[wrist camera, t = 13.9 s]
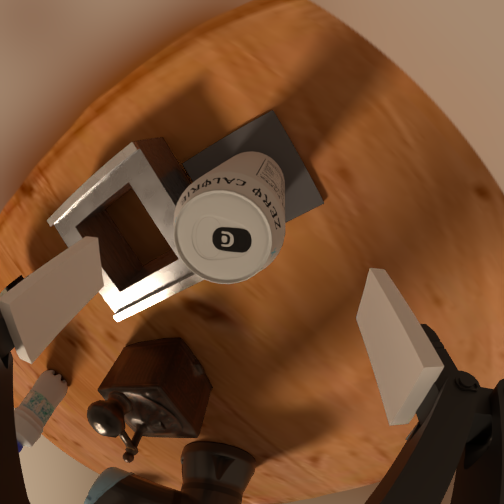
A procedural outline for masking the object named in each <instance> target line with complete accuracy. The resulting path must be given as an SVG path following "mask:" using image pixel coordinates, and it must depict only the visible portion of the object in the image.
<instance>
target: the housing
mask: <svg viewBox="0 0 504 504" xmlns="http://www.w3.org/2000/svg"><path fill="white" fill-rule="evenodd" d="M190 184H191V182H190V181H189V179H188V178H187V176H186V174H185V173H184V171H183V170H182V168H181V166H180V165H179V163H178V162H177V160H176V158H175V157H174V155H173V153H172V152H171V150H170V149H169V147H168V145H167V144H166V142H165V140H164V139H163V137H160V138H153V139H146V140H140V141H134V142H131V143H130V144H129V145H127V146H126V147H125V148H124V149H123V150H121V151H120V152H119V153H118V154H117V155H115V156H114V157H113V158H112V159H111V160H109V161H108V162H107V163H106V164H105V165H104V166H102V167H101V168H100V169H99V170H98V171H97V172H96V173H95V174H93V175H92V176H91V177H90V178H89V179H88V180H87V181H86V182H85V183H84V184H83V185H82V186H81V187H79V188H78V189H77V190H76V191H75V192H74V193H73V194H72V195H71V196H70V197H69V198H68V199H67V200H66V201H65V202H64V203H63V204H62V205H61V206H60V207H59V208H58V209H57V210H56V211H55V212H54V213H53V214H52V215H51V216H50V218H49V219H48V220H47V222H48V223H49V225H50V227H51V226H53V225H54V226H55V227H56V229H57V231H58V232H59V234H60V235H61V237H62V239H63V240H64V242H65V243H66V245H67V246H68V248H69V247H71V246H72V245H74V244H75V243H77V242H78V241H80V240H81V239H83V238H84V237H86V236H88V237H97V238H98V243H99V252H100V260H101V268H102V275H103V282H104V287H103V288H102V289H101V290H100V291H99V293H100V294H101V295H102V297H103V298H104V299H105V301H106V302H107V303H108V305H109V306H110V307H111V309H112V310H113V311H114V312H115V314H114V315H113V317H114V319H115V320H116V321H117V322H118V321H120V320H123V319H125V318H127V317H129V316H131V315H133V314H135V313H137V312H139V311H141V310H143V309H145V308H147V307H149V306H151V305H153V304H155V303H157V302H160V301H162V300H164V299H166V298H168V297H170V296H172V295H174V294H176V293H178V292H180V291H182V290H184V289H186V288H188V287H190V286H192V285H194V284H196V283H198V282H200V281H203V280H205V279H203V278H201V277H199V276H198V275H196V274H195V273H193V272H192V271H191V270H190V269H189V268H188V267H187V266H186V265H185V264H184V262H183V261H182V260H181V258H180V256H179V254H178V252H177V249H176V246H175V243H174V224H173V222H174V212H175V208H176V205H177V202H178V200H179V198H180V197H181V195H182V193H183V192H184V191H185V190H186V188H187V187H188V186H189V185H190ZM132 188H133V189H134V191H135V193H136V194H137V196H138V197H139V199H140V201H141V202H142V204H143V205H144V207H145V208H146V210H147V212H148V213H149V215H150V216H151V218H152V219H153V221H154V222H155V224H156V225H157V227H158V229H159V230H160V232H161V233H162V235H163V236H164V238H165V239H166V241H167V242H168V244H169V245H170V247H171V248H172V250H170V251H168V252H166V253H165V254H163V255H161V256H159V257H158V258H156V259H154V260H153V261H151V262H149V263H148V264H146V265H144V266H142V264H141V263H140V261H139V260H138V258H137V257H136V255H135V254H134V253H133V251H132V250H131V248H130V247H129V245H128V244H127V242H126V241H125V239H124V238H123V236H122V235H121V233H120V232H119V230H118V229H117V227H116V226H115V224H114V222H113V221H112V219H111V218H110V216H109V215H108V213H107V211H106V210H105V209H106V208H107V207H108V206H110V205H111V204H112V203H113V202H115V201H116V200H117V199H119V198H120V197H121V196H122V195H124V194H125V193H126V192H128V191H129V190H130V189H132Z"/></svg>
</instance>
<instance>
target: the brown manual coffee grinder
mask: <svg viewBox="0 0 504 504" xmlns="http://www.w3.org/2000/svg"><path fill="white" fill-rule="evenodd" d="M212 388H213V387H212V385H211V383H210V381H209V379H208V378H207V376H206V374H205V371H204V369H203V367H202V366H201V364H200V363H199V361H198V360H197V359H196V358H195V356H194V355H193V353H192V352H191V350H190V349H189V347H188V346H187V345H186V344H185V343H184V342H183V340H182V339H181V338H163V339H157V340H151V341H144V342H138V343H135V344H132V345H129V346H126V347H124V348H123V350H122V352H121V354H120V355H119V357H118V358H117V360H116V361H115V363H114V364H113V366H112V368H111V369H110V371H109V372H108V374H107V375H106V377H105V378H104V380H103V382H102V383H101V385H100V386H99V388H98V392H99V393H100V394H101V395H102V397H103V398H104V399H105V400H106V401H105V400H99V401H96V402H94V403H92V404H91V405H90V406H89V407H88V410H87V418H88V421H89V423H90V425H91V426H92V427H93V428H94V430H95V431H96V432H98V433H99V434H101V435H103V436H108V437H115V438H116V437H117V436H120V437H121V439H122V440H123V442H124V443H125V445H126V447H127V448H126V449H125V450H126V452H125V453H124V454H123V459H124V461H126V462H129V463H130V462H132V461H133V459H134V455H136V454H137V453H138V449H137V446H138V444H139V441H140V439H141V437H142V436H148V437H169V438H197V437H198V436H199V433H200V430H201V426H202V422H203V419H204V415H205V411H206V407H207V403H208V400H209V396H210V392H211V390H212ZM125 422H126V424H127V425H128V426H129V427H130V428H131V429H132V430H133V431H134V432H135V434H134V436H133V438H132V440H131V439H130V438H129V437H128V435H127V433H126V432H125Z"/></svg>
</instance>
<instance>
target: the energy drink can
mask: <svg viewBox="0 0 504 504" xmlns="http://www.w3.org/2000/svg"><path fill="white" fill-rule="evenodd" d="M173 224H174V243H175V246H176V249H177V252H178V254H179V256H180V258H181V260H182V261H183V262H184V264H185V265H186V266H187V267H188V268H189V269H190V270H191V271H192V272H193V273H195V274H196V275H198V276H199V277H201V278H203V279H205V280H208V281H210V282H214V283H219V284H233V283H239V282H242V281H245V280H247V279H249V278H251V277H252V276H254V275H256V274H257V273H258V272H260V271H261V270H263V269H265V268H266V267H267V266H268V265H269V264H270V263H271V262H273V260H274V259H275V257H276V256H277V255H278V253H279V251H280V249H281V247H282V245H283V241H284V237H285V180H284V176H283V173H282V170H281V168H280V167H279V165H278V164H277V163H276V162H275V161H274V160H273V159H272V158H270V157H269V156H267V155H265V154H263V153H260V152H254V151H252V152H243V153H240V154H237V155H235V156H233V157H232V158H230V159H229V160H227V161H225V162H224V163H222V164H220V165H219V166H217V167H216V168H214V169H212V170H211V171H209V172H208V173H206V174H204V175H203V176H201V177H200V178H198V179H197V180H196V181H194V182H193V183H192V184H190V185H189V186H188V187H187V188H186V190H185V191H184V192H183V193H182V195H181V197H180V198H179V200H178V202H177V205H176V208H175V212H174V222H173Z"/></svg>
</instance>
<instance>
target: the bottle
mask: <svg viewBox="0 0 504 504" xmlns="http://www.w3.org/2000/svg"><path fill="white" fill-rule="evenodd" d="M54 374H55V371H54V370H46V371H44V372H43V373H42V374H41V375H40V377H39V378H38V380H37V381H36V383H35V384H34V386H33V388H32V389H31V390H30V392H29V393H28V394H27V396H26V397H25V398H24V400H23V401H22V403H21V404H20V405H19V407H17V408H15V410H14V417H15V428H16V437H17V445H18V452H20V451H21V450H22V448H23V445H24V446H27V447H32V446H33V444H34V443H35V442H36V441H37V440H38V439H39V438H40V436H41V433H42V432H43V427H44V426H45V424H46V422H47V421H48V419H49V418H50V416H51V415H52V413H53V411H54V410H55V408H56V407H57V406H58V404H59V403H60V402H61V401H62V399H63V398H64V396H65V395H66V393H67V382H66V381H65V380H63V381H61V375H60V374H58V375H54Z"/></svg>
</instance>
